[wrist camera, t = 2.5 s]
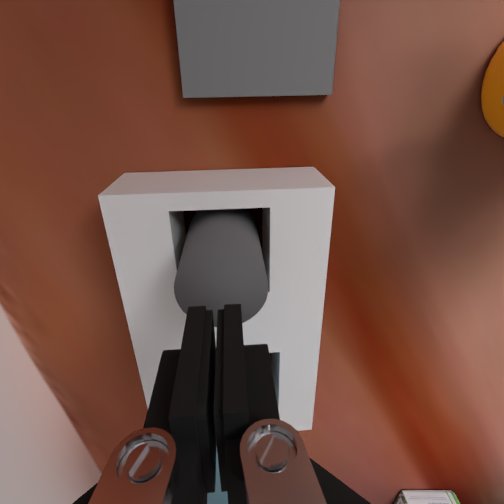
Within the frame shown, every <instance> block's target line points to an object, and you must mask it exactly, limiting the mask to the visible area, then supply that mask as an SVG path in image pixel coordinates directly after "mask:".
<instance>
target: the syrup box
mask: <svg viewBox="0 0 504 504" xmlns="http://www.w3.org/2000/svg"><path fill="white" fill-rule="evenodd" d="M394 504H460V502H459V501H458V499H457V497H456V495H455V493H454V492H452V491H446V490H402V491H401V492H400V494H399V496H398V497H397V499H396V501H395V502H394Z"/></svg>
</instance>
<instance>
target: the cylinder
mask: <svg viewBox="0 0 504 504" xmlns="http://www.w3.org/2000/svg"><path fill="white" fill-rule="evenodd" d="M481 103H482V111H483V114H484V117H485V120H486V121H487V123H488V124H489V126H490V127H491V128H492V129H493V130H494V131H495V132H496V133H497V134H498V135H500V136H501V137H503V138H504V41H503V42H502V43H501V45H500V46H499V47H498V49H497V51H496V53H495V54H494V56H493V57H492V59H491V61H490V63H489V66H488V68H487V70H486V73H485V76H484V80H483V84H482V92H481Z"/></svg>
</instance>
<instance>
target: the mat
mask: <svg viewBox="0 0 504 504" xmlns="http://www.w3.org/2000/svg"><path fill="white" fill-rule="evenodd" d="M173 1H174V11H175V21H176V31H177V41H178V51H179V61H180V71H181V81H182V91H183V98H206V97H252V96H298V95H332V89H333V77H334V65H335V52H336V40H337V28H338V16H339V4H340V0H173Z"/></svg>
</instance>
